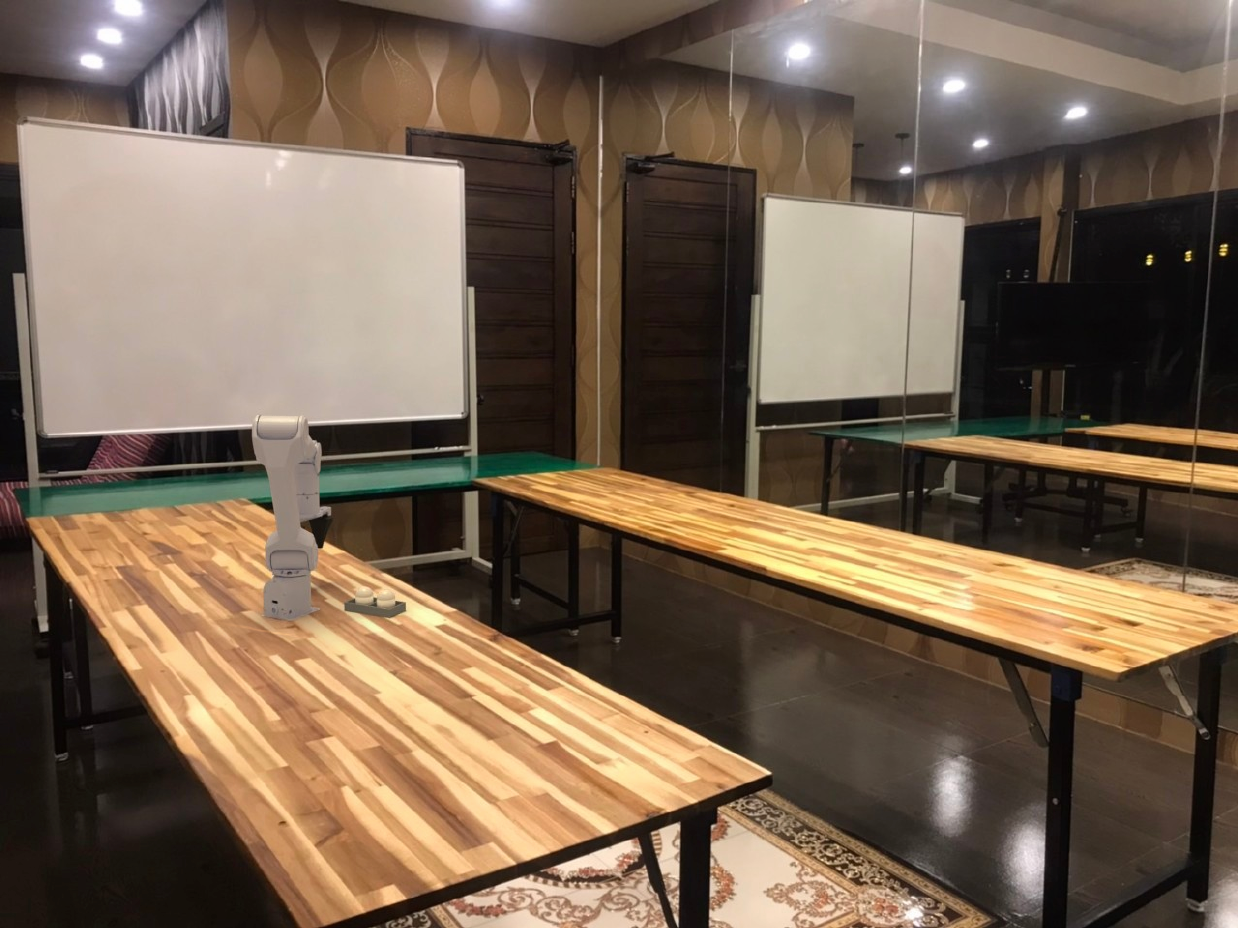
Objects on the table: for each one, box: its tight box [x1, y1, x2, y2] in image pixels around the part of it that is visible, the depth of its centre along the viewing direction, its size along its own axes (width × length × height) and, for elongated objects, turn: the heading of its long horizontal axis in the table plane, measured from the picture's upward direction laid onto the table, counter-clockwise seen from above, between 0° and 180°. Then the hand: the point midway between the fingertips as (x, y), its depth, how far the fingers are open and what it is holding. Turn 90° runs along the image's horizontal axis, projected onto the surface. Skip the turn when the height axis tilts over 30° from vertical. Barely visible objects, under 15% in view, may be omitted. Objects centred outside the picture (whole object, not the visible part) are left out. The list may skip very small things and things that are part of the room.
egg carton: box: [343, 596, 407, 619], centre depth 200 cm, size 6×12×2 cm, turn 68°
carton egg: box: [354, 585, 374, 605], centre depth 201 cm, size 4×4×5 cm
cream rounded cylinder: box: [376, 588, 396, 609], centre depth 199 cm, size 4×4×5 cm
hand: (307, 551), depth 213 cm, fingers open, 7 cm apart
